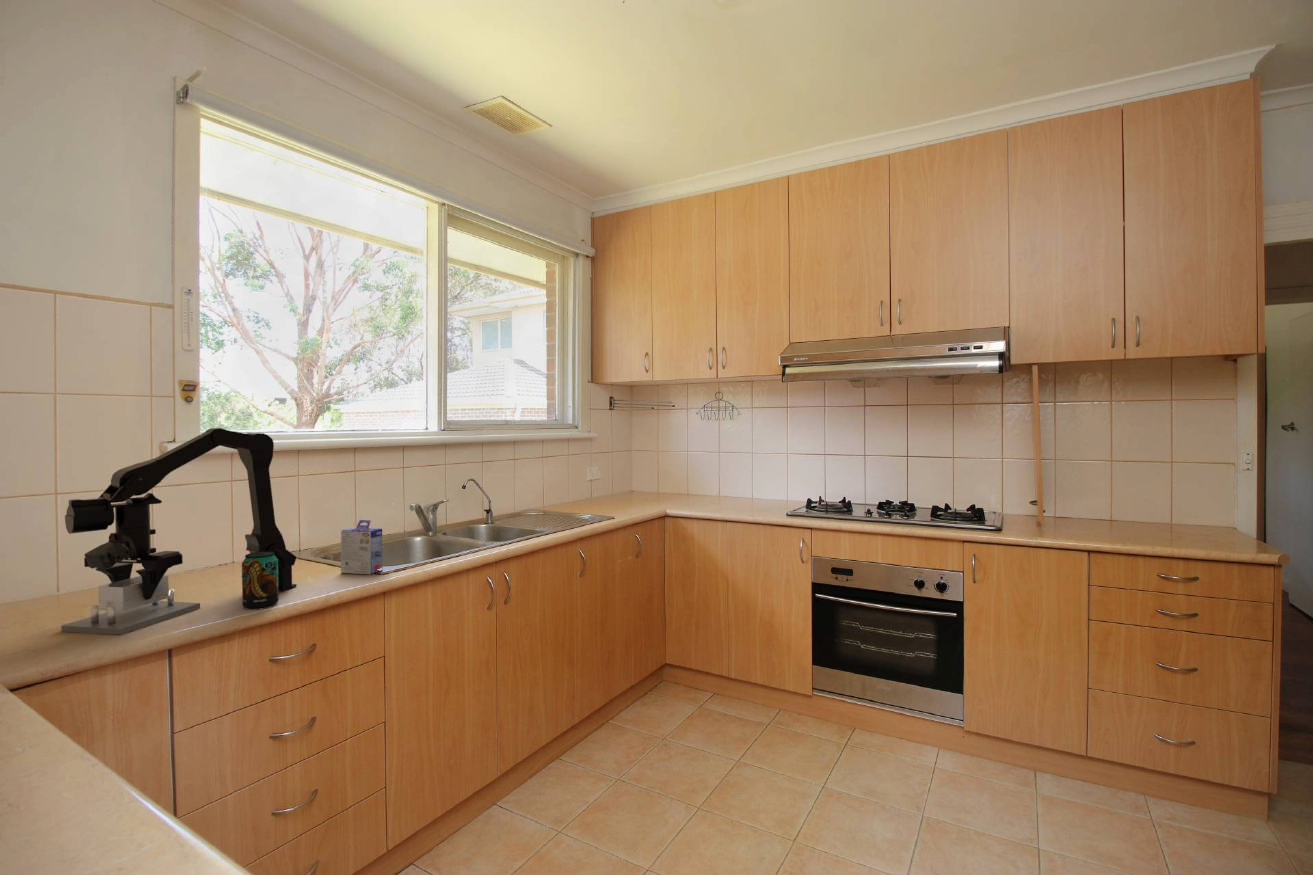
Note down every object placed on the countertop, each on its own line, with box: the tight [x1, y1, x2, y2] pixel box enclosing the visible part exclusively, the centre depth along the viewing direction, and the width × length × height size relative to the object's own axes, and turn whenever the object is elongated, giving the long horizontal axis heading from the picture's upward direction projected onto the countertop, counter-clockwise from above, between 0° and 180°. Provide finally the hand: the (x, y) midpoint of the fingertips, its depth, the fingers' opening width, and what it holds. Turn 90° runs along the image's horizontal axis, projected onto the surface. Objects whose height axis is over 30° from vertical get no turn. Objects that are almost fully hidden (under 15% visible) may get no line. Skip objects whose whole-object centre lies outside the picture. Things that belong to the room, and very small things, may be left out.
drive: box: [97, 574, 170, 612], centre depth 133 cm, size 6×10×5 cm, turn 171°
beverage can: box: [241, 552, 280, 610], centre depth 143 cm, size 7×7×12 cm
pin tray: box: [60, 588, 201, 635], centre depth 133 cm, size 14×18×5 cm
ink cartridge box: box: [340, 519, 383, 575], centre depth 175 cm, size 10×6×14 cm, turn 78°
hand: (135, 598), depth 133 cm, fingers closed on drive, 6 cm apart
